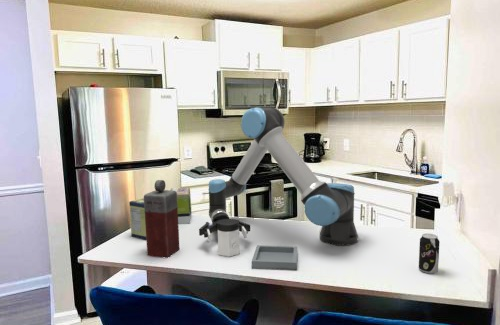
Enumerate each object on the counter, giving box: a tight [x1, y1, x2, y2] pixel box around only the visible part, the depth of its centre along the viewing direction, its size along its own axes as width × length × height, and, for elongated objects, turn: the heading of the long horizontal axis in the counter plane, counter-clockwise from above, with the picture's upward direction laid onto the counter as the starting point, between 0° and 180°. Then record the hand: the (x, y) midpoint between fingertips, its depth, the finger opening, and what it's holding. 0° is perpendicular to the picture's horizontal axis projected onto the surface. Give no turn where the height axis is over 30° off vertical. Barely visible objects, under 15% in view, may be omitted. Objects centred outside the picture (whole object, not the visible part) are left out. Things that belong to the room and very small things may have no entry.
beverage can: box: [418, 232, 441, 275], centre depth 121 cm, size 6×6×12 cm
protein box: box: [129, 197, 146, 241], centre depth 164 cm, size 10×16×16 cm
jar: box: [217, 218, 240, 258], centre depth 141 cm, size 9×8×12 cm
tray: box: [251, 244, 298, 271], centre depth 133 cm, size 15×15×3 cm
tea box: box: [170, 187, 193, 225], centre depth 184 cm, size 15×10×15 cm, turn 6°
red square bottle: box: [143, 179, 180, 259], centre depth 141 cm, size 9×11×28 cm
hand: (227, 236), depth 140 cm, fingers open, 13 cm apart
